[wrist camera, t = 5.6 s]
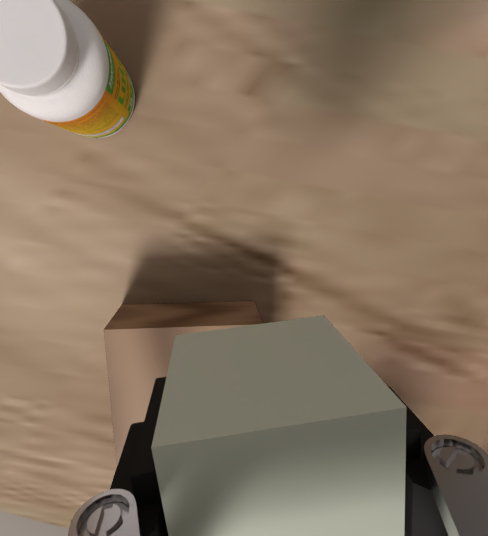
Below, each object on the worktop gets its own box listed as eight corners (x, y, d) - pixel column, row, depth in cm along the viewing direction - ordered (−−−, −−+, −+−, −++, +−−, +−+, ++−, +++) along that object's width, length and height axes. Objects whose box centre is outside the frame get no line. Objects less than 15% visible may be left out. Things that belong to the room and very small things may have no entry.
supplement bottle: (150, 121, 23) (110, 77, 14) (76, 152, 23) (-14, 129, 14) (112, 35, 22) (40, -78, 12) (33, 68, 22) (-98, -20, 12)
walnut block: (253, 299, 27) (263, 324, 22) (252, 410, 30) (260, 454, 25) (122, 303, 26) (103, 329, 21) (132, 418, 28) (116, 465, 24)
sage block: (324, 315, 12) (406, 407, 7) (329, 440, 13) (403, 594, 8) (175, 335, 11) (151, 447, 6) (195, 462, 12) (188, 637, 8)
